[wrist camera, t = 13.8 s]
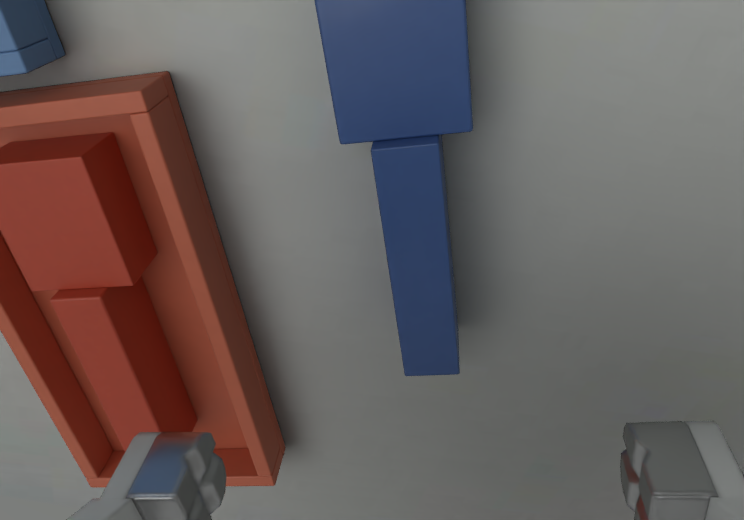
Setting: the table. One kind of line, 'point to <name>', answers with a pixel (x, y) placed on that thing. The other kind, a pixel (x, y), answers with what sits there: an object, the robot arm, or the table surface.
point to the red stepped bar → (94, 273)
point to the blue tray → (26, 37)
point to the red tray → (162, 280)
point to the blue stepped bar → (406, 148)
